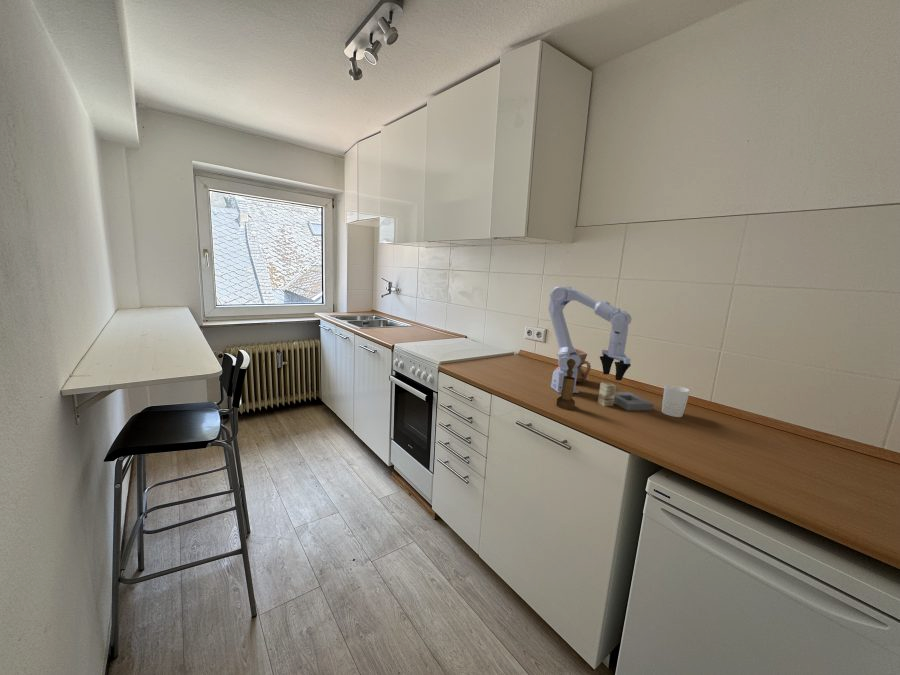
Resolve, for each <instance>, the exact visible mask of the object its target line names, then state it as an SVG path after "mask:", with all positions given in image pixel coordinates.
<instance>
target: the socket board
mask: <svg viewBox="0 0 900 675" xmlns="http://www.w3.org/2000/svg"><path fill="white" fill-rule="evenodd" d="M614 404H615V405H617V406H618V407H620V408H622V409H624V410H625V411H652V410H653V408H654V403H653V402H650V401H648V400H647V399H645V398H642V397H640V396H638V395H636V394H635V393H633V392H630V391H629V392H628V391H619V392H617V391H615V397H614Z"/></svg>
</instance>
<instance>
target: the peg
mask: <svg viewBox="0 0 900 675" xmlns="http://www.w3.org/2000/svg"><path fill="white" fill-rule="evenodd" d="M599 384H600V385H599V391H598V392H599V393H598V397H597V403H598V404H600V405H601V406H603V407H614V404H615V403H614V397H615V392H617V391H616V389H617V385H615V384H613V383H612V382H600V383H599Z"/></svg>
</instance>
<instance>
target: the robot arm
mask: <svg viewBox="0 0 900 675" xmlns="http://www.w3.org/2000/svg"><path fill="white" fill-rule="evenodd" d="M549 297H550V298H549V303H548V304H549V305H548V312H549V316H550V320H551V323H552V327H553V330H554V334H555V337H556V341H557V344H558V348H559V350H558V352H557V354H558V355H557V356H558V362H557V364H558V367H560V369H558V370H555V369H554V370H553V371H552V372H553V373H552V376H551V384H550V386H549V387H550V388H551V389H553V391H555V392H557V393H558V394H561V393H562V386H563V379H564V376H567V370H568V366H567V361H568V360H569V359H573V360H575V366H574V367H573V369H572V371H573V375H572V377H574V378H575V382H574V388H573V394H574V393H575V394H579V393H580V391H579V390H577V389H576V385H577V382H576V379H577V372H578V369H577V367H578V366H579V365H580V364H581V358H580V356H579V355H578V354H577V352H576V349H577V348H575V347H574V346H573V342H572V340H571V337H570V333H569V329H568V325H567V322H566V318H565V316H564V312H563V310H564V309H565V307H566V306H567V305H568V303H570V302H571V301H576V302H578V303H580V304H582V305H584V306H586V307H589V308H590V309H592V310H593V311H594V314H595V315H596V316H599V317H600V318H601V319H604V320H605V321H607V322H610V324H611V331H610V336H609V337H610V338H609V343H608V349H602V350H601V355H600V356H599V359H600V361H601V365H602V374H603V375H610V373H611V368H612V364H613V362H614V364H615V365H614V367H615V381H622V379H623V377H624V375H625V374H626V372H627V370H628V369H629V368H631V361H632V359H631V358H630V357H628V356H627V355H626V354H625V350H626V345H627V339H628V334H629V333H628V331H629V325H630V324H631V322H632V316H631V314H630V313H629V312H627V311H626V310H622V309H621V308H619V307H618V308H617V307H615V306H613V305H611V302H609V301H605V300H603V301H599V302H598V301H597V300H595V299H594V298H592V297H590V296H588V295H587V294H585V293H584V292H582V291H580V290H578V289H576V288H573V287H571V286H559V285H558V286H555V287H554V288H553V289H552V291H551V292H550V294H549ZM621 310H622V311H621ZM615 360H616V361H615Z"/></svg>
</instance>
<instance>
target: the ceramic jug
mask: <svg viewBox="0 0 900 675" xmlns="http://www.w3.org/2000/svg"><path fill="white" fill-rule="evenodd" d="M575 349H576V352H577V354H578V355H579V356H580V358H581V364H580V365H579V366H578V367H577V369H578V372H577V379H576V383H582V382H584V381H585V380H587V377H588V374H590V371H591V369H592V368H591V367H592V366H591V363H590V362H589V361H587V360H586V358H587V357H588V352H587V351H586V350H582V349H577V348H575ZM556 356H558V353H557V354H556ZM583 365H586V371H585V370H584V369H583V368H582V366H583ZM558 369H560V367H559V366H557V367H555V368H554V370H558Z"/></svg>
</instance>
